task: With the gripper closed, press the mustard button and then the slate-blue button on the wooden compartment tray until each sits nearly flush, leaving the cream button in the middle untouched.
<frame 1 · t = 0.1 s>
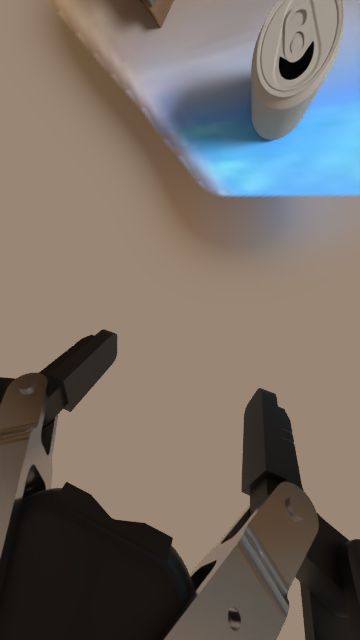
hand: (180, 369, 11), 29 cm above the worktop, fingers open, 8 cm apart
beverage can: (278, 107, 24), on the worktop
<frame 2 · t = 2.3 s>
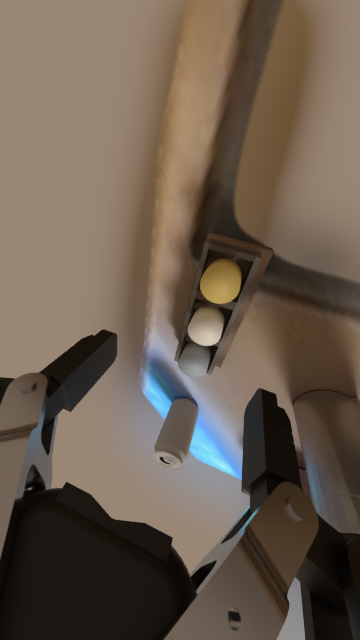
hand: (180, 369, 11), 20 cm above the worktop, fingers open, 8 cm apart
wooden compartment tray: (217, 306, 30), on the worktop
button cream: (206, 325, 25), point 6 cm above the worktop, slide at 0.0 cm
beverage can: (186, 404, 45), on the worktop
button slate: (194, 359, 29), point 6 cm above the worktop, slide at 0.0 cm
button mustard: (221, 280, 22), point 6 cm above the worktop, slide at 0.0 cm
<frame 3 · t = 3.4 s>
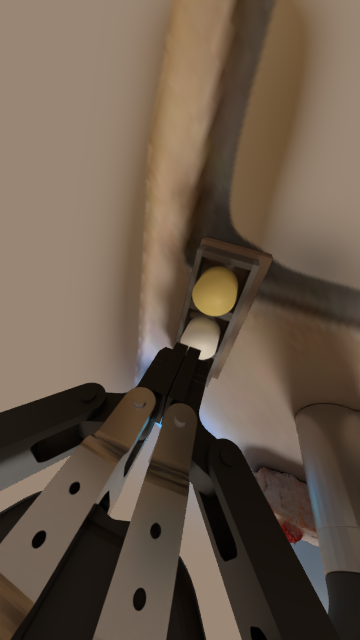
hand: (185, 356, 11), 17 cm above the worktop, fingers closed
wooden compartment tray: (213, 315, 29), on the worktop
button cream: (201, 337, 24), point 6 cm above the worktop, slide at 0.0 cm
food item: (283, 477, 44), on the worktop
button mustard: (215, 290, 20), point 6 cm above the worktop, slide at 0.0 cm
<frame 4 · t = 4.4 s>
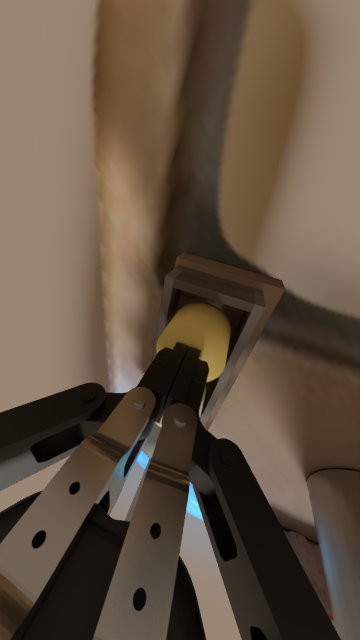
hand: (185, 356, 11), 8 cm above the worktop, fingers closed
wooden compartment tray: (199, 354, 21), on the worktop
button cream: (177, 399, 16), point 6 cm above the worktop, slide at 0.0 cm
button slate: (165, 436, 20), point 6 cm above the worktop, slide at 0.0 cm
food item: (289, 534, 36), on the worktop
button mustard: (195, 340, 13), point 6 cm above the worktop, slide at 0.2 cm, touching gripper
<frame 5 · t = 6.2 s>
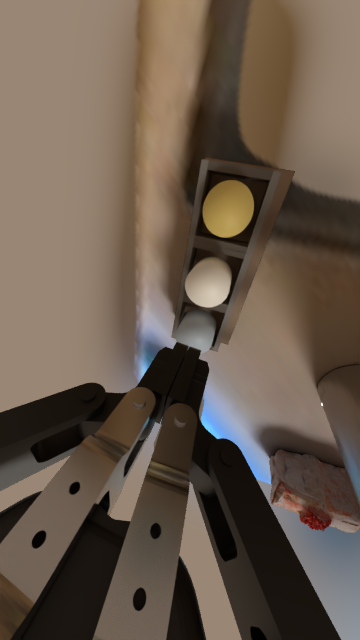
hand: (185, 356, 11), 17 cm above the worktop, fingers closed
wooden compartment tray: (220, 266, 25), on the worktop
button cream: (209, 281, 20), point 6 cm above the worktop, slide at 0.0 cm
button slate: (196, 331, 23), point 6 cm above the worktop, slide at 0.0 cm
food item: (303, 460, 40), on the worktop
button mustard: (228, 210, 18), point 4 cm above the worktop, slide at 1.9 cm
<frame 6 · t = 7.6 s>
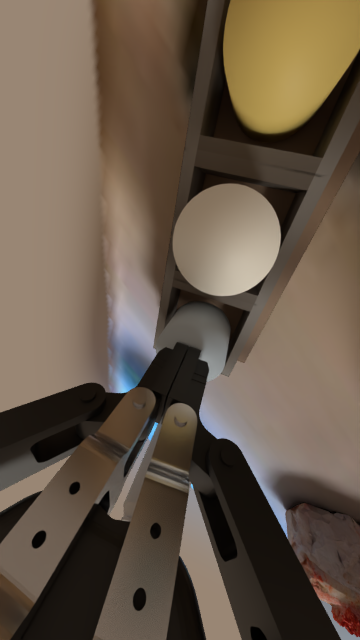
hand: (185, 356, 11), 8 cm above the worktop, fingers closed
wooden compartment tray: (242, 230, 14), on the worktop
button cream: (226, 241, 9), point 6 cm above the worktop, slide at 0.0 cm
beverage can: (182, 422, 29), on the worktop
button slate: (195, 340, 13), point 6 cm above the worktop, slide at 0.2 cm, touching gripper
food item: (332, 517, 29), on the worktop
button mustard: (286, 55, 7), point 4 cm above the worktop, slide at 1.9 cm
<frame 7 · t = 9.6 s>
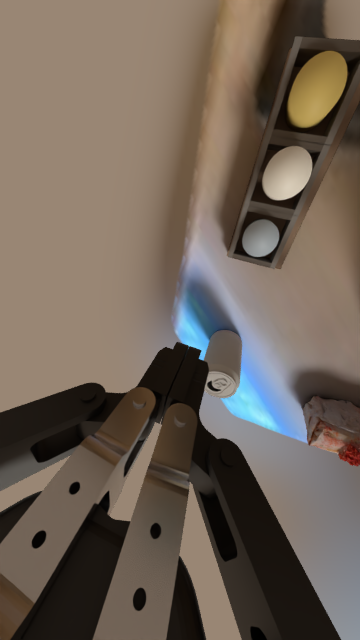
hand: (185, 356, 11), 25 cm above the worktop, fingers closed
wooden compartment tray: (281, 182, 25), on the worktop
button cream: (284, 176, 20), point 6 cm above the worktop, slide at 0.0 cm
beverage can: (226, 340, 40), on the worktop
button slate: (259, 237, 25), point 4 cm above the worktop, slide at 1.9 cm
food item: (337, 408, 40), on the worktop
button mustard: (312, 96, 18), point 4 cm above the worktop, slide at 1.9 cm
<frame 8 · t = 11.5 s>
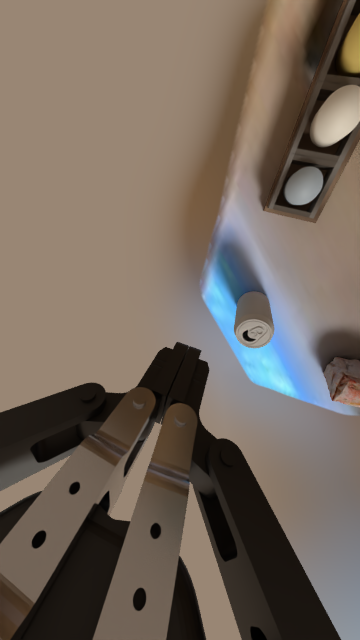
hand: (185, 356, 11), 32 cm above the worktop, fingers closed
wooden compartment tray: (322, 136, 27), on the worktop
button cream: (335, 119, 22), point 6 cm above the worktop, slide at 0.0 cm
beverage can: (252, 303, 42), on the worktop
button slate: (301, 187, 27), point 4 cm above the worktop, slide at 1.9 cm
food item: (357, 369, 42), on the worktop
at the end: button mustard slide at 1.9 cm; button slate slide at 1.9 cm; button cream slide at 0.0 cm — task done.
